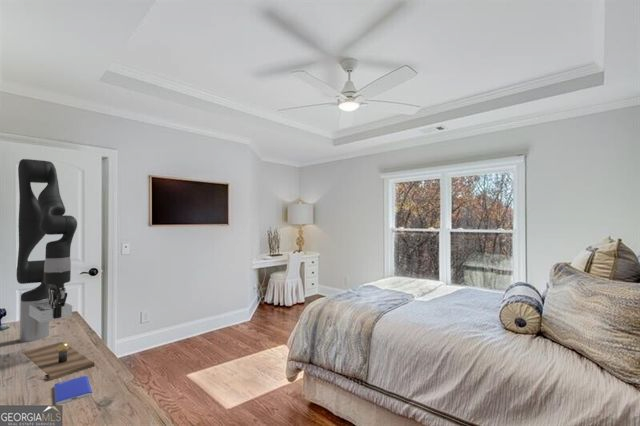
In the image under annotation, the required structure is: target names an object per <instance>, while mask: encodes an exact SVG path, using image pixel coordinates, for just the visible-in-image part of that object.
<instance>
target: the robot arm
mask: <svg viewBox="0 0 640 426" xmlns="http://www.w3.org/2000/svg"><path fill="white" fill-rule="evenodd" d="M17 170H18V171H17V172H18V173H17V174H18V188H19V190H18V192H19V208H18V226H17V227H18V253H17V254H18V255H17V265H16V281H17V283H18V284H20V285H21V284H22V285H24V284H25V285H26V284H37V283H40V285H38V286H37V287H34V288H33V289H29V290H26V291H24V292H23V293H21V295H20V310H19V311H20V315H19V342H22V343H24V342H25V343H27V342H34V341H40V340H43V339H45V338H48V337H49V336H50V321H47V322H42V323H41V322H39V321H37V320H36V319H34V318H32V317H31V316H29V307H30V305H32V304H38V303H45V302H49V305H50V306H51V307H52V308H53V318H54V319H57V318H61V311H62V307H63V306H64V305H65V303H67V302H66V301H67V298H68V292H66V287H65V284H68V283H70V282H71V269H72V261H71V246H72V242H73V239H74V236H75V233H76V230H77V228H78V222H77V218H75V217H74V216H72V215H65V214H66V207H65V205H64V202H63V199H62V196H61V193H60V186H59V179H58V175H57V170H56V167H55V165H54V163H53V162H52V161H49V160H42V159H41V160H40V159H38V160H37V159H32V158H31V159H30V158H23V159H21V160H20V161H19V162H18V167H17ZM32 183H35V184H38V183H39V184H47V185H46V186H45V187H44V188H43V189H42V190H41V192H40V193H39V194H38V198H37V197H36V195H35V193H34V192H33V189H32V185H31V184H32ZM46 235H49V236H50V235H51V236H52V235H54V236H55V235H56V236H57V235H62V236H61V237H60V238H59V239H57V240H53V241H48V242H47V243H46V244H45V255H44V256H45V259H43V260H41V259H40V260H29V257H30V256H31V253H32V252H33V250H34V249H35V247H36V246H37V245H38V244H39V243H40V241H41V240H42V239H43V238H44V237H45V236H46ZM57 320H58V319H57Z"/></svg>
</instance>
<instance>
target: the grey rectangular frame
mask: <svg viewBox="0 0 640 426" xmlns="http://www.w3.org/2000/svg"><path fill="white" fill-rule="evenodd" d="M29 316H31V317H32V318H34V319H36V320H37V321H39V322H41V323H42V322H47V321H49V322H50V321H56V320H60V319H67V318H70V317H72V316H73V305H71V304H69V303H67V302H65V305H64V306H63V307H62V311H61V318H57V319H54V318H53V308H52V307H51V306H50V305H49V302H45V303H38V304H32V305H30V307H29Z"/></svg>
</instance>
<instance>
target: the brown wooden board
mask: <svg viewBox="0 0 640 426" xmlns="http://www.w3.org/2000/svg"><path fill="white" fill-rule="evenodd" d="M61 343H64V342H63V341H60V342H55V343H52V344H48V345H43V346H41V347H40V346H39V347H36V348H32V349H28V350H25V351H22V354H24V355H25V356H26V357H27V358H28V359H30V361H32V363H34V364H35V365H36V366H37V367H38V368H40V369H41V370H42V371H43V372H44V373H45V377H46V378H47V379H48V380H49V381H53V380H55V379H58V378H62V377H65V376H69V375H71V374H74V373H77V372H78V373H79V372H81V371H84V370H86V369H91V368H93V367H95V362H94V361H92V360H91V359H89V358H88V357H86V356H85V355H83V354H82V353H80V352H79V351H77V350H75V349H74V348H72V347H70V346H69V348H68V350H67V361H66V362H63V363H58V355H59V352H58V350H57V347H58V346H59V345H60V344H61Z"/></svg>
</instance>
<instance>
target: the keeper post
mask: <svg viewBox="0 0 640 426" xmlns="http://www.w3.org/2000/svg"><path fill="white" fill-rule="evenodd" d="M69 347H70V345H69V343H67V342H63V343H61V344H60V345H59V346H58V347H57V350H58V352H59V355H58V363H63V362H66V361H67V350H68V348H69Z"/></svg>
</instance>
